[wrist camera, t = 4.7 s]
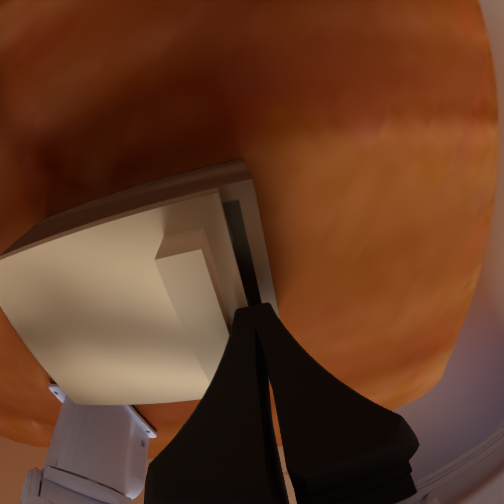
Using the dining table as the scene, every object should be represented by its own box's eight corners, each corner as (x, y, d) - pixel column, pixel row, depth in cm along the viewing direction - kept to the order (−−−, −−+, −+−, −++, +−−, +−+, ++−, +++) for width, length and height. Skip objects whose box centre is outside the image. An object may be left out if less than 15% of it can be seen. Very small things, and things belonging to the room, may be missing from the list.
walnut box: (274, 316, 18) (288, 370, 14) (109, 345, 18) (92, 394, 14) (242, 158, 14) (252, 178, 9) (43, 218, 14) (0, 255, 9)
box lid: (267, 377, 14) (273, 413, 12) (78, 396, 14) (69, 424, 12) (218, 187, 9) (217, 209, 7) (-13, 261, 9) (-38, 286, 7)
